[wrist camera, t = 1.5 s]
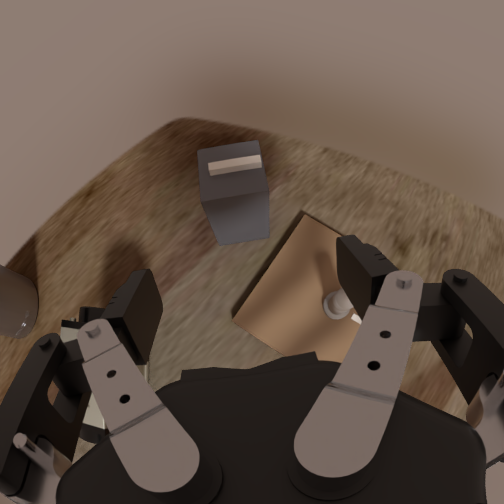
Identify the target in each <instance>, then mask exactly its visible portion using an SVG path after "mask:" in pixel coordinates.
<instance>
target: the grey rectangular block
mask: <svg viewBox="0 0 504 504" xmlns="http://www.w3.org/2000/svg"><path fill="white" fill-rule="evenodd" d="M197 156H198V171H199V185H200V199H201V204H202V206H203V208H204V211H205V213H206V215H207V218H208V220H209V222H210V225H211V227H212V229H213V232H214V234H215V236H216V239H217V241H218V243H219V245H220V246H222V245H228V244H234V243H240V242H246V241H252V240H259V239H265V238H269V188H268V183H267V178H266V174H265V169H264V165H263V160H262V156H261V151H260V147H259V142H258V140H254V141H247V142H241V143H235V144H228V145H223V146H217V147H211V148H206V149H201V150H197Z"/></svg>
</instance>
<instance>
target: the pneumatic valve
mask: <svg viewBox="0 0 504 504" xmlns="http://www.w3.org/2000/svg"><path fill="white" fill-rule="evenodd" d="M104 310H105V309H103V308H96V307H80V311H79V322H76V319H75V318H70V321H68V320H62V323H61V335H60V338H61V340H62V341H63V343H64V342H68V341H71V340H74V339H77V333H78V331H79V330H80V328H81V327H82V326H84V325H85V324H86V323H88V322H90V321H93V320H96V319H100V317H101V316H102V314H103V312H104ZM136 366H137V368H138V369H139V371H140V372H141V374H142V375H143V377H144V378H145V380H146V381H147V382H148V384H149V362H148V361H147V365H136ZM109 433H110V432H109V429H108V427H107V425H106V423H105V421H104V419H103V416H102V414H101V412H100V410H99V407H98V405H97V403H96V400H95V398H94V395H93V393H92V394H91V397H90V401H89V404H88V407H87V410H86V413H85V417H84V420H83V424H82V427H81V430H80V434H79V437H80V438H81V439H83V440H85V441H87V442H90V443H94V444H97V443H99V442H100V441H101V440H102V439H103V438H104V437H105V436H106V435H108V434H109Z"/></svg>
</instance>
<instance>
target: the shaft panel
mask: <svg viewBox="0 0 504 504" xmlns="http://www.w3.org/2000/svg"><path fill="white" fill-rule="evenodd" d="M337 237H341V235H339V234H337V233H336V232H334V231H332V230H331V229H329V228H327V227H326V226H324V225H322V224H321V223H319V222H317V221H316V220H314V219H312V218H310V217H309V216H307V215H304V216H303V218H302V219H301V221H300V222H299V224H298V225H297V227H296V228H295V230H294V231H293V233H292V234H291V236H290V237H289V239H288V240H287V242H286V243H285V245H284V246H283V247H282V249H281V250H280V252H279V253H278V255H277V256H276V258H275V259H274V261H273V262H272V264H271V265H270V266H269V268H268V269H267V271H266V272H265V274H264V275H263V277H262V278H261V280H260V281H259V282H258V284H257V285H256V287H255V288H254V290H253V291H252V292H251V294H250V295H249V297H248V298H247V300H246V301H245V302H244V304H243V305H242V307H241V308H240V310H239V311H238V312H237V314H236V315H235V317H234V318H233V320H232V321H233V322H234V323H235V324H237V325H238V326H240V327H241V328H243V329H244V330H246V331H247V332H249V333H250V334H251V335H253V336H254V337H256V338H258V339H259V340H261V341H262V342H264V343H265V344H267V345H268V346H270V347H271V348H273V349H274V350H276V351H277V352H279V353H281V354H282V355H284V356H285V357H287V356H292V355H298V354H303V353H308V352H313V351H315V352H316V355H317V358H318V360H326V361H335V362H340V363H342V362H343V360H344V358H345V356H346V354H347V352H348V350H349V348H350V346H351V344H352V342H353V340H354V338H355V335H356V333H357V331H358V329H359V327H360V325H361V323H362V321H361V319H360V317H359V316H358V314H357V312H356V310H355V309H354V307H353V305H352V304H351V302H350V300H349V299H348V297H347V295H346V293H345V292H344V290H343V288H342V287H341V285H340V283H339V280H338V276H337V261H336V239H337Z"/></svg>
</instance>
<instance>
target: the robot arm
mask: <svg viewBox="0 0 504 504" xmlns="http://www.w3.org/2000/svg"><path fill="white" fill-rule="evenodd" d="M336 261H337V276H338V280H339V283H340V285H341V287H342V288H343V290H344V292H345V293H346V295H347V297H348V299H349V300H350V302H351V304H352V305H353V307H354V309H355V310H356V312H357V314H358V316H359V317H360V319H361V321H362V323H361V325H360V327H359V329H358V331H357V333H356V335H355V338H354V340H353V342H352V344H351V346H350V348H349V350H348V352H347V354H346V356H345V358H344V360H343V362H342V363H340V362H335V361H326V360H318V358H317V355H316V352H315V351H313V352H308V353H303V354H298V355H292V356H287V357H282V358H279V359H276V360H274V361H271V362H268V363H265V364H262V365H260V366H257V367H254V368H251V369H231V368H217V367H210V368H201V369H190V370H182V374H181V380H179V381H175V382H173V383H170V384H168V385H166V386H164V387H162V388H161V389H159V390H157V391H156V392H154V391H153V390H152V388H151V387H150V385H149V384H148V382H147V381H146V380H145V378H144V377H143V375H142V374H141V372H140V371H139V369H138V368H137V366H136V365H147V361H148V358H149V355H150V351H151V348H152V345H153V341H154V338H155V335H156V332H157V328H158V325H159V322H160V319H161V316H162V312H163V304H162V300H161V297H160V294H159V291H158V288H157V285H156V283H155V280H154V277H153V274H152V272H151V270H150V269H143V270H138V271H133V272H132V273H131V275H130V277H129V278H128V280H127V282H126V283H125V284H123V285H122V286H121V287H120V288H118V289H117V290H116V292H115V293H114V295H113V297H112V299H111V300H110V302H109V304H108V305H107V307H106V309H105V310H104V312H103V314H102V316H101V317H100V319H96V320H93V321H90V322H88V323H86V324H85V325H84V326H82V327H81V328H80V330H79V331H78V333H77V339H74V340H71V341H68V342H64V343H63V341H62V340H61V338H60V336H59V335H58V334H57V333H50V334H47V335H45V336H43V337H41V338H40V339H39V340H37V341H36V343H35V344H34V345H33V347H32V349H31V350H30V352H29V354H28V355H27V357H26V359H25V360H24V362H23V364H22V366H21V367H20V369H19V371H18V373H17V374H16V376H15V378H14V380H13V382H12V384H11V386H10V387H9V389H8V391H7V393H6V395H5V397H4V399H3V401H2V403H1V405H0V493H1V494H2V495H4V496H5V497H7V498H8V499H10V500H12V501H13V502H15V503H16V504H487V499H486V489H485V474H486V469H488V468H489V467H491V466H493V465H494V464H496V463H497V462H499V461H500V462H504V304H503V303H502V302H501V301H500V300H499V299H498V298H497V297H496V296H495V295H494V294H493V293H492V292H491V291H490V290H489V289H488V288H487V287H486V286H485V285H484V284H482V283H481V282H480V281H479V280H478V279H477V278H476V277H475V276H474V275H473V274H471V273H470V272H467V271H465V270H461V269H451V270H448V271H446V272H445V273H444V274H443V278H442V283H423V279H422V278H421V277H420V276H419V275H418V274H416V273H414V272H411V271H404V270H400V271H399V270H398V269H397V268H396V267H395V266H394V265H393V264H392V263H391V262H390V261H389V260H388V259H387V258H386V257H385V256H384V255H383V254H382V253H381V252H380V251H379V250H378V249H377V248H376V247H374V246H372V245H369V244H367V243H366V244H363V243H362V242H361V241H360V240H359V239H358V238H357V237H356V236H355V235H347V236H341V237H337V239H336ZM37 312H38V295H37V291H36V288H35V286H34V284H33V282H32V281H31V280H30V279H29V278H27V277H25V276H23V275H21V274H18V273H16V272H14V271H12V270H10V269H8V268H6V267H4V266H2V265H0V335H4V336H9V337H14V338H23V337H25V336H26V335H27V334H28V333H29V332H30V331H31V329H32V328H33V326H34V323H35V321H36V317H37ZM466 323H467V324H468V325H469V326H470V328H471V330H472V333H473V339H472V338H471V337H470V335H469V334H468V333H467V331H466V330H465V329H464V328H465V325H466ZM416 341H431V343H432V344H433V346H434V348H435V349H436V351H437V352H438V354H439V356H440V357H441V359H442V360H443V362H444V364H445V365H446V367H447V369H448V370H449V372H450V374H451V375H452V377H453V379H454V380H455V382H456V384H457V386H458V387H459V389H460V391H461V393H462V394H463V396H464V398H465V400H466V402H467V404H468V405H469V406H468V408H467V411H466V420H467V422H465V421H463V420H462V419H460V418H457V417H455V416H453V415H451V414H448V413H446V412H444V411H442V410H440V409H437V408H435V407H433V406H431V405H429V404H427V403H425V402H422V401H420V400H418V399H416V398H414V397H412V396H410V395H408V394H406V393H404V392H402V391H400V390H399V388H400V385H401V381H402V378H403V375H404V371H405V368H406V364H407V360H408V356H409V352H410V348H411V344H412V342H416ZM52 381H53V382H54V383H55V385H56V386H57V387H58V389H59V392H58V394H57V397H56V399H55V402H54V404H53V406H52V405H51V403H50V402H49V400H48V396H47V392H48V388H49V386H50V384H51V382H52ZM92 393H93V395H94V398H95V400H96V403H97V405H98V407H99V410H100V412H101V414H102V416H103V419H104V421H105V423H106V425H107V427H108V429H109V432H110V433H109V434H108V435H106V436H105V437H104V438H103V439H102V440H101V441H100V442H99V443H97V444H96V445H95V446H94V447H93V448H92V449H91V450H89V451H88V452H87V453H86V454H85V455H84V456H82V457H81V458H80V459H79V460H78V461H77V462H75V463H74V464H73V465H72V461H73V457H74V453H75V449H76V445H77V441H78V438H79V434H80V430H81V427H82V424H83V420H84V417H85V413H86V410H87V407H88V404H89V401H90V397H91V394H92Z"/></svg>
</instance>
